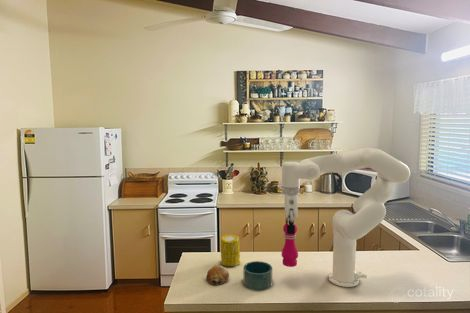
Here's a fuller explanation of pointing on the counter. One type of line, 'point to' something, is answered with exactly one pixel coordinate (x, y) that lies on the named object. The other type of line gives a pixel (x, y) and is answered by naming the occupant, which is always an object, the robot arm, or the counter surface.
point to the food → (230, 250)
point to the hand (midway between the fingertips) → (290, 230)
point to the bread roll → (217, 275)
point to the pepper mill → (289, 248)
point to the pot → (257, 275)
